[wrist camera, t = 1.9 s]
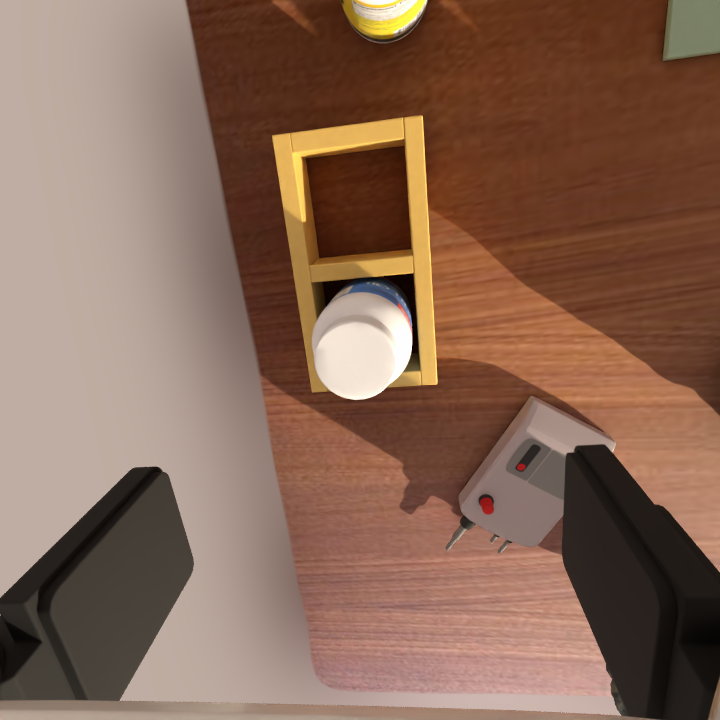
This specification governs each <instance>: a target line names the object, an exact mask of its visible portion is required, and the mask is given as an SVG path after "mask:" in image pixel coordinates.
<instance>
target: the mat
mask: <svg viewBox="0 0 720 720" xmlns="http://www.w3.org/2000/svg"><path fill="white" fill-rule="evenodd" d="M716 53H720V0H668V10H667V20H666V30H665V40H664V51H663V61H667V60H674V59H681V58H688V57H695V56H702V55H709V54H716Z"/></svg>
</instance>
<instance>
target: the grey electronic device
mask: <svg viewBox="0 0 720 720" xmlns="http://www.w3.org/2000/svg"><path fill="white" fill-rule="evenodd" d="M549 375H550V374H549ZM597 444H605V445H606V446H607V447H608V448H609V449H610V450H611V452H613V450H614V447H615V445H616V442H615V441H614V440H613V439H612V438H611V437H610V436H609V435H607V434H605V433H603V432H602V431H600V430H598V429H596V428H594V427H592V426H590V425H588V424H586V423H585V422H583V421H581V420H579V419H577V418H575V417H573V416H571V415H569V414H567V413H565V412H564V411H562V410H560V409H558V408H556V407H554V406H552V405H550V404H548V403H546V402H544V401H542V400H540V399H538V398H536V397H534V396H530V397H529V399H528V400H527V402H526V403H525V404H524V406H523V407H522V409H521V410H520V412H519V413H518V414H517V416H516V417H515V418H514V420H513V421H512V423H511V424H510V425H509V427H508V428H507V429H506V431H505V432H504V434H503V435H502V436H501V438H500V439H499V440H498V442H497V443H496V445H495V446H494V447H493V449H492V450H491V451H490V453H489V454H488V455H487V457H486V458H485V460H484V461H483V462H482V464H481V465H480V466H479V468H478V469H477V471H476V472H475V473H474V475H473V476H472V477H471V479H470V480H469V481H468V483H467V484H466V486H465V487H464V488H463V490H462V491H461V492H460V494H459V497H458V499H459V504H460V509H461V511H462V513H463V517H462V518H461V521H460V524H461V525H460V526H459V528H458V529H457V530H456V532H455V533H454V535H453V538H452V539H451V540H450V542H449V543H448V544H447V546H446V550H449V549H450V548H451V547H452V545H453V544H454V543H455V541H457V540H458V539H459V538H460V537H461V536H462V534H463V533H464V532H465V530H466V529H467V530H469V529H471V528H472V527H473V526H474V525H475V524H477V525H478V526H480V527H482V528H484V529H486V530H488V531H489V532H491V533H493V534H495V535H494V536H493V537H492V538H491V540H490V542H491V543H493V542H494V541H495V540H496V539H497V537H502V538H504V539H506V541H505V542H504V544H503V545H502V546H501V547H500V549H499V550H498V553H499V554H500V553H501V552H502V551H503V550H504V549H505V548H506V546H507V545H508V544H509V543H512V542H514V543H516V544H519V545H522V546H527V547H535V546H537V545H538V544H539V543H540V542H541V541H542V540H543V538H544V537H545V536H546V535H547V534H548V533H549V531H550V530H551V529H552V528H553V527H554V526H555V524H556V523H557V522H558V521H559V520H560V519H561V518H562V516H563V511H564V484H565V459H566V454H567V453H570V452H574V449H575V447H576V446H577V445H597Z"/></svg>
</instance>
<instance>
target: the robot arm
mask: <svg viewBox="0 0 720 720" xmlns="http://www.w3.org/2000/svg"><path fill="white" fill-rule="evenodd" d="M562 556H563V562H564V566H565V569H566V571H567V574H568V576H569V578H570V581H571V583H572V585H573V588H574V590H575V592H576V595H577V597H578V599H579V601H580V604H581V606H582V608H583V611H584V613H585V615H586V618H587V620H588V622H589V625H590V627H591V629H592V632H593V634H594V636H595V639H596V641H597V643H598V646H599V648H600V650H601V653H602V655H603V657H604V660H605V662H606V664H607V667H608V669H609V671H610V674H611V676H612V678H613V680H614V683H615V685H616V687H617V690H618V692H619V694H620V697H621V699H622V701H623V704H624V706H625V708H626V711H627V713H628V715H629V717H627V716H617V715H600V714H579V713H558V712H557V713H556V712H536V711H515V710H484V709H451V708H450V709H449V708H415V707H414V708H413V707H382V706H381V707H380V706H344V705H301V704H300V705H299V704H298V705H297V704H258V703H257V704H256V703H211V702H207V703H206V702H154V701H152V702H149V701H119V700H120V698H121V697H122V695H123V693H124V691H125V690H126V688H127V686H128V684H129V683H130V681H131V679H132V677H133V676H134V674H135V672H136V670H137V669H138V667H139V665H140V663H141V662H142V660H143V658H144V656H145V655H146V653H147V651H148V649H149V647H150V646H151V644H152V642H153V641H154V639H155V637H156V635H157V634H158V632H159V630H160V628H161V627H162V625H163V623H164V621H165V620H166V618H167V616H168V615H169V613H170V611H171V609H172V608H173V606H174V604H175V602H176V601H177V599H178V597H179V595H180V593H181V591H182V590H183V588H184V586H185V585H186V583H187V581H188V579H189V578H190V576H191V574H192V571H193V565H194V561H193V556H192V553H191V549H190V546H189V543H188V539H187V536H186V532H185V529H184V526H183V523H182V519H181V516H180V512H179V509H178V505H177V503H176V499H175V495H174V492H173V489H172V485H171V482H170V478H169V476H168V474H167V473H165V472H163V471H162V470H161V469H160V468H159V467H137V468H133V469H131V470H130V471H129V472H128V473H127V474H126V475H125V476H124V477H123V478H122V479H121V480H120V481H119V482H118V483H117V484H116V485H115V486H114V487H113V488H112V489H111V490H110V491H109V492H108V493H107V494H106V495H105V496H104V497H103V498H102V499H101V500H100V501H99V502H97V503H96V504H95V505H94V506H93V507H92V509H90V510H89V511H88V512H87V513H86V514H85V515H84V516H83V517H82V518H81V519H80V520H79V521H78V522H77V523H76V524H75V525H74V526H73V527H72V528H71V529H70V530H69V531H68V532H67V533H66V534H65V535H64V536H63V537H62V538H61V539H60V540H59V541H58V542H57V543H56V544H55V545H54V546H53V547H52V548H51V549H50V550H49V551H48V552H47V553H46V554H45V555H43V557H42V558H40V559H39V560H38V562H36V563H35V564H34V565H33V566H32V567H31V568H30V569H29V570H28V571H27V572H26V573H25V574H24V575H23V576H22V577H21V578H20V579H19V580H18V581H17V582H16V583H15V584H14V585H13V586H12V587H11V588H10V589H9V590H8V591H7V592H6V593H5V594H4V595H3V596H2V597H1V598H0V614H1V616H0V720H720V572H719V571H718V570H717V569H716V568H715V566H714V565H713V564H712V563H711V562H710V560H709V559H708V558H707V557H706V556H705V555H704V553H703V552H702V551H701V550H700V549H699V547H698V546H697V545H696V544H695V543H694V541H693V540H692V539H691V538H690V537H689V535H688V534H687V533H686V532H685V531H684V529H683V528H682V527H681V526H680V525H679V524H678V522H677V521H676V520H675V519H674V518H673V516H672V515H671V514H670V513H669V512H668V511H667V510H666V509H665V508H664V507H663V506H660V505H654V503H653V502H652V501H651V500H650V498H649V497H648V496H647V495H646V494H645V492H644V491H643V490H642V489H641V487H640V486H639V485H638V484H637V482H636V481H635V480H634V479H633V478H632V476H631V475H630V474H629V473H628V471H627V470H626V469H625V468H624V466H623V465H622V464H621V463H620V462H619V460H618V459H617V458H616V457H615V455H614V454H613V453H612V452H611V450H610V449H609V448H608V447H607V446H606V445H605V444H597V445H577V446H576V447H575V449H574V452H570V453H567V454H566V459H565V484H564V511H563V538H562Z"/></svg>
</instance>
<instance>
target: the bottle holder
mask: <svg viewBox="0 0 720 720" xmlns="http://www.w3.org/2000/svg"><path fill="white" fill-rule="evenodd" d="M272 140H273V146H274V153H275V159H276V165H277V172H278V178H279V185H280V191H281V197H282V204H283V210H284V217H285V223H286V229H287V236H288V242H289V249H290V255H291V262H292V268H293V274H294V281H295V287H296V294H297V300H298V306H299V313H300V319H301V326H302V332H303V338H304V345H305V351H306V358H307V364H308V370H309V377H310V383H311V390H312V392H325V391H330V390H329V389H328V388H327V387H326V386H325V385H324V384H323V383H322V381H321V380H320V378H319V377H318V375H317V372H316V369H315V364H314V353H313V349H312V334H313V329H314V326H315V323H316V321H317V319H318V318H319V316H320V315H321V313H322V312H323V310H324V309H325V308H326V304H325V296H324V289H323V282H324V281H335V280H345V279H356V278H367V277H377V276H388V275H398V274H409V273H413V277H414V291H415V306H416V320H417V335H418V349H419V353H411V355H410V359H409V361H408V364H407V366H406V367H405V369H404V371H403V372H402V373H401V374H400V376H399V377H398V378H397V379H395V380H394V381H393V382H392V383H390V384H389V385H388V386H387V387H403V386H419V385H421V384H422V385H432V384H437V365H436V347H435V328H434V310H433V292H432V274H431V256H430V238H429V220H428V202H427V184H426V166H425V148H424V130H423V116H422V115H418V116H411V117H405V118H404V119H403V118H395V119H388V120H381V121H374V122H366V123H359V124H352V125H344V126H337V127H330V128H322V129H315V130H308V131H300V132H293V133H286V134H278V135H272ZM404 145H405V160H406V175H407V189H408V204H409V218H410V233H411V247H412V250H411V249H407V250H397V251H387V252H377V253H367V254H357V255H347V256H337V257H327V258H320V259H319V252H318V245H317V237H316V230H315V223H314V215H313V208H312V200H311V193H310V186H309V178H308V171H307V164H306V158H314V157H321V156H329V155H337V154H345V153H352V152H360V151H368V150H376V149H383V148H391V147H399V146H404ZM387 387H386V388H387Z"/></svg>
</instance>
